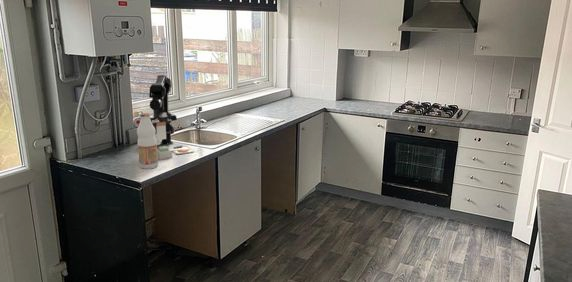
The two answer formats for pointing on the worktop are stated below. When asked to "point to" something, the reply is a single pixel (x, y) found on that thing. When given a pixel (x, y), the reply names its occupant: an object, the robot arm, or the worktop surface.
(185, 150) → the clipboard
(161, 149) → the button
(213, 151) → the worktop surface
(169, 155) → the button base
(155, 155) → the fruit juice
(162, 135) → the white pill bottle
